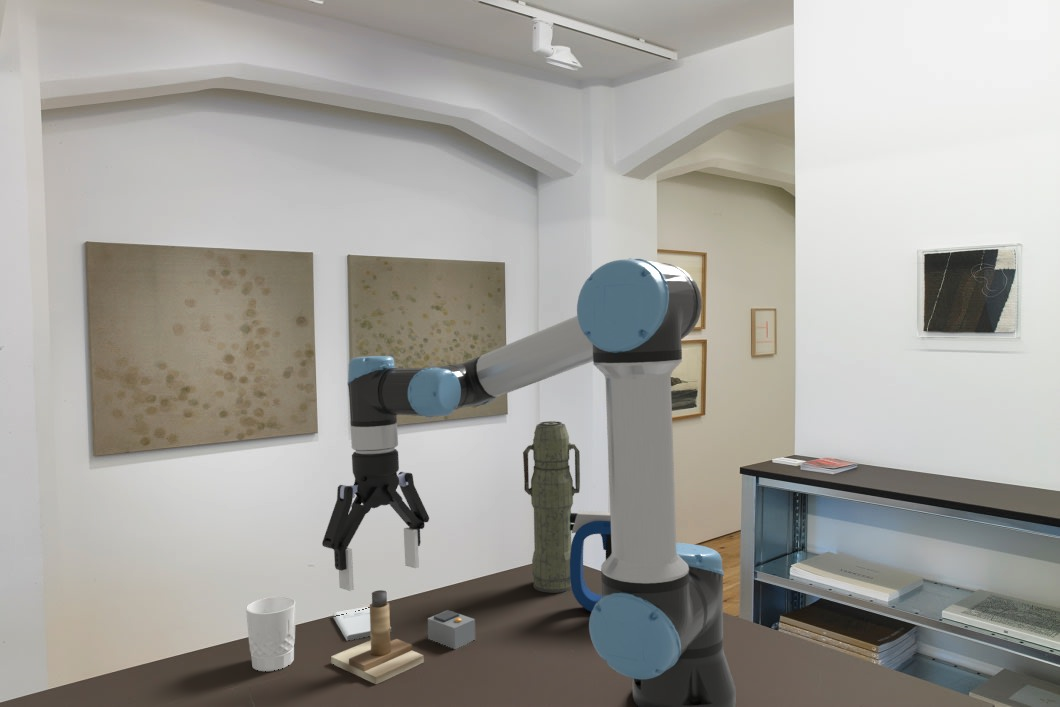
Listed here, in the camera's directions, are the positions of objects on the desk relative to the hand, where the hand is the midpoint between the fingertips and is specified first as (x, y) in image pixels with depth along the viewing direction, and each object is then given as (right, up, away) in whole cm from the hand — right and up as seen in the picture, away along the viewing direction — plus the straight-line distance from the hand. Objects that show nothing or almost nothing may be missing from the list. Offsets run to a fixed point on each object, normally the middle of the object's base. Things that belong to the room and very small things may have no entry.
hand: (380, 577), depth 129 cm
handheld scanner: (+41, -13, +22) cm, 48 cm away
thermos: (+30, -13, +37) cm, 49 cm away
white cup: (-19, -15, +2) cm, 24 cm away
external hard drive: (-7, -15, +18) cm, 25 cm away
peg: (0, -13, +1) cm, 13 cm away
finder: (+11, -14, +10) cm, 21 cm away
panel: (-1, -15, +2) cm, 15 cm away
